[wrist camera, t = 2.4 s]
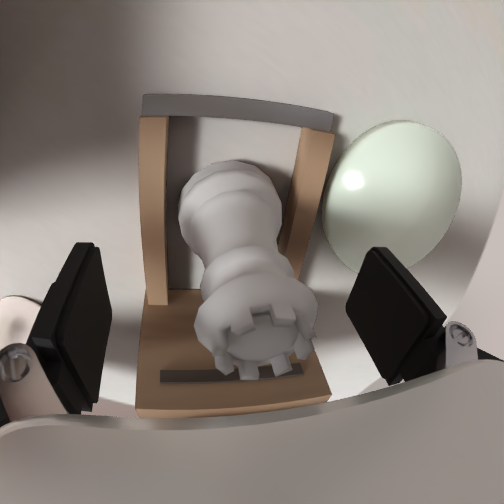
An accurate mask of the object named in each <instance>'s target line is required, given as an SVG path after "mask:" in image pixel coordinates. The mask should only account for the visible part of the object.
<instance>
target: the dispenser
mask: <svg viewBox="0 0 504 504" xmlns="http://www.w3.org/2000/svg"><path fill="white" fill-rule="evenodd" d="M169 116H200V117H218V118H232V119H243V120H253V121H262V122H271V123H279V124H286V125H293V126H300V127H302V130H301V136H300V141H299V146H298V151H297V156H296V162H295V167H294V172H293V177H292V182H291V187H290V191H289V196H288V201H287V206H286V211H285V216H284V221H283V225H282V230H281V235H280V239H279V244H278V252H279V253H280V254H282V255H283V256H285V257H286V258H287V259H288V261H289V263H290V265H291V266H292V268H293V270H294V278H295V279H296V280H298V279H299V275H300V272H301V268H302V265H303V261H304V258H305V254H306V251H307V247H308V243H309V240H310V236H311V232H312V228H313V225H314V221H315V217H316V213H317V209H318V205H319V202H320V198H321V194H322V190H323V185H324V181H325V177H326V173H327V169H328V165H329V160H330V156H331V152H332V147H333V143H334V138H335V134H333V133H332V132H330V131H331V126H332V121H333V116H334V114H333V113H330V112H328V111H323V110H318V109H313V108H308V107H302V106H297V105H291V104H284V103H278V102H271V101H263V100H255V99H246V98H237V97H225V96H211V95H192V94H145V95H143V104H142V116H141V117H140V118H139V202H140V222H141V237H142V250H143V261H144V271H145V281H146V292H145V299H144V306H143V314H142V323H141V332H140V342H139V353H138V366H137V380H136V400H135V410H136V412H137V414H138V416H139V418H200V417H220V416H233V415H244V414H254V413H263V412H271V411H278V410H285V409H292V408H298V407H304V406H310V405H315V404H320V403H325V402H327V401H328V399H329V398H330V396H331V395H332V393H331V391H330V388H329V385H328V383H327V380H326V378H325V375H324V373H323V370H322V367H321V365H320V362H319V360H318V357H317V355H316V352H315V350H313V351H312V353H311V354H310V355H309V357H308V358H307V359H306V360H302V359H297V356H296V353H295V352H294V353H292V354H291V355H290V356H288V358H289V361H290V364H291V367H292V370H291V371H289V372H286V373H284V374H281V375H279V376H277V377H276V376H275V374H274V371H273V368H272V364H267V365H262V366H257V367H258V371H259V378H258V380H240V375H239V370H238V366H236V365H233V366H234V371H233V372H231V373H229V374H228V375H224V374H223V373H222V372H221V371H219V370H218V369H217V368H216V367H215V359H214V356H212V352H210V351H209V350H208V349H207V348H206V347H205V346H204V345H203V344H201V343H200V342H199V341H198V338H197V334H196V331H195V328H194V323H195V319H196V316H197V313H198V309H199V307H200V306H201V305H202V304H203V303H204V300H203V298H202V293H201V290H179V289H169V287H168V267H167V235H166V181H167V149H168V129H169Z"/></svg>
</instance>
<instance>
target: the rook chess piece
mask: <svg viewBox="0 0 504 504" xmlns="http://www.w3.org/2000/svg"><path fill="white" fill-rule="evenodd" d="M177 209H178V214H179V216H178V220H179V224H180V229H181V234H182V237H183V238H184V240H185V241H186V243H187V244H188V245H189V247H190V248H191V249H192V251H193V252H194V253H195V254H197V255H198V256H199V257H200V258H201V259H202V261H203V264H204V267H205V271H204V274H203V277H202V281H201V284H200V289H201V293H202V298H203V300H204V303H203V304H202V305H201V306H200V307H199V309H198V313H197V316H196V319H195V323H194V328H195V331H196V334H197V338H198V341H199V342H200V343H201V344H203V345H204V346H205V347H206V348H207V349H208V350H209V351H210V352H212V356H214V359H215V367H216V368H217V369H218V370H219V371H221V372H222V373H223V374H224V375H228V374H229V373H231V372H233V371H234V366H233V365H236V366H238V370H239V375H240V380H258V378H259V371H258V367H257V366H262V365H267V364H272V368H273V371H274V374H275V376H276V377H277V376H279V375H281V374H284V373H286V372H289V371H291V370H292V367H291V364H290V361H289V358H288V356H290V355H291V354H292V353H294V352H295V353H296V356H297V359H302V360H306V359H307V358H308V357H309V355H310V354H311V353H312V351H313V350H314V346H313V344H312V341H311V339H312V338H314V337H316V334H315V332H314V330H313V326H314V323H315V321H316V317H317V310H318V302H317V300H316V298H315V296H314V294H313V292H312V290H311V288H309V287H307V286H306V285H304V284H303V283H301V282H300V281H298V280H296V279H295V278H294V270H293V268H292V266H291V265H290V263H289V261H288V259H287V258H286V257H285V256H283V255H282V254H280V253H279V252H278V247H277V242H276V239H277V236H278V234H279V230H280V228H281V226H282V203H281V201H280V199H279V197H278V193H277V191H276V189H275V187H274V185H273V183H272V181H271V179H270V178H269V177H268V176H267V175H266V174H264V173H263V172H262V171H261V170H259V169H258V168H257V167H256V166H254V165H250V164H247V163H243V162H239V161H235V160H233V161H225V162H218V163H212V164H211V165H209V166H207V167H205V168H203V169H202V170H200V171H198V172H196V173H195V174H194V175H193V176H192V177H191V178H190V180H189V181H188V182H187V184H186V185H185V186H184V187H183V189H182V191H181V195H180V199H179V203H178V207H177Z"/></svg>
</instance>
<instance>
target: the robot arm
mask: <svg viewBox="0 0 504 504" xmlns="http://www.w3.org/2000/svg"><path fill="white" fill-rule="evenodd" d="M346 313H347V315H348V317H349V318H350V320H351V322H352V324H353V325H354V327H355V329H356V331H357V332H358V334H359V336H360V338H361V340H362V341H363V343H364V345H365V347H366V349H367V350H368V352H369V354H370V356H371V358H372V360H373V362H374V363H375V365H376V367H377V369H378V371H379V373H380V375H381V376H382V378H384V379H386V381H387V383H388V385H389V386H390V385H394V384H397V383H400V381H401V380H402V379H404V381H405V382H404V383H401V384H397V385H394V386H391V387H387V388H383V389H380V390H376V391H372V392H369V393H365V394H361V395H357V396H353V397H348V398H344V399H340V400H335V401H330V402H325V403H320V404H315V405H310V406H304V407H298V408H292V409H285V410H278V411H271V412H263V413H254V414H244V415H233V416H220V417H200V418H132V417H113V416H96V415H81V411H89V412H92V406H93V403H97V402H98V398H99V390H100V383H101V376H102V370H103V363H104V357H105V352H106V346H107V341H108V336H109V331H110V326H111V321H112V308H111V304H110V300H109V295H108V291H107V286H106V281H105V276H104V271H103V265H102V260H101V254H100V249H99V248H98V247H95V246H94V244H93V243H84V242H78V243H76V244H75V245H74V247H73V249H72V251H71V252H70V254H69V256H68V258H67V260H66V262H65V264H64V266H63V268H62V269H61V271H60V273H59V275H58V277H57V279H56V282H54V283H52V285H51V286H50V288H49V290H48V293H47V295H46V297H45V299H44V301H43V303H42V306H41V308H40V310H39V312H38V315H37V317H36V319H35V322H34V324H33V326H32V329H31V331H30V334H29V336H28V339H27V342H26V344H23V343H13V344H10V345H7V346H6V347H4V348H3V349H1V351H0V504H504V361H503V360H500V359H499V358H497V357H495V356H493V355H491V354H489V353H487V352H485V351H482V350H481V349H478V348H477V345H476V339H475V336H474V335H473V333H472V332H471V330H470V329H469V328H467V327H466V326H465V325H463V324H462V323H459V322H456V321H451V322H449V323H448V324H447V325H446V326H445V328H444V327H443V326H442V324H443V323H444V321H445V320H446V318H447V316H446V315H445V314H444V312H443V311H442V310H441V309H440V307H439V306H438V305H437V304H436V303H435V301H434V300H433V299H432V298H431V296H430V295H429V294H428V293H427V292H426V291H425V289H424V288H423V287H422V286H421V285H420V283H419V282H418V281H417V280H416V279H415V278H414V277H413V275H412V274H411V273H410V272H409V271H408V270H407V269H406V268H405V266H404V265H403V264H402V263H401V262H400V261H399V260H398V259H397V258H396V257H395V255H394V254H393V253H392V252H391V251H390V250H389V249H388V248H387V247H372V248H371V249H370V250H369V251H368V252H367V253H366V255H365V258H364V260H363V263H362V266H361V268H360V271H359V274H358V276H357V279H356V281H355V284H354V286H353V289H352V291H351V293H350V296H349V298H348V301H347V303H346Z"/></svg>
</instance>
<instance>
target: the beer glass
mask: <svg viewBox="0 0 504 504" xmlns="http://www.w3.org/2000/svg"><path fill="white" fill-rule="evenodd" d="M40 308H41V305H39V304H38V303H36V302H34V301H31V300H29V299H26V298H23V297H18V296H9V297H5V298H3V299H1V300H0V351H1V349H3V348H4V347H6V346H7V345H10V344H13V343H23V344H26V342H27V339H28V336H29V334H30V331H31V329H32V326H33V324H34V322H35V319H36V317H37V315H38V312H39V310H40Z"/></svg>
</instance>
